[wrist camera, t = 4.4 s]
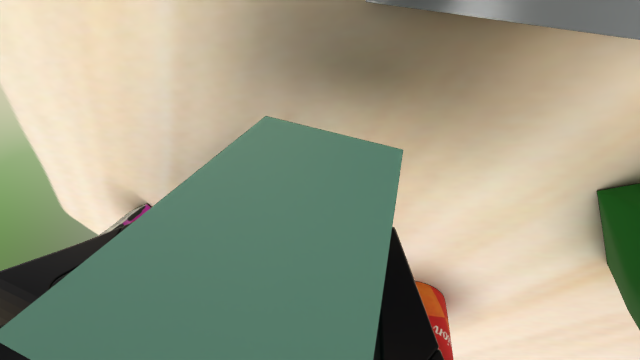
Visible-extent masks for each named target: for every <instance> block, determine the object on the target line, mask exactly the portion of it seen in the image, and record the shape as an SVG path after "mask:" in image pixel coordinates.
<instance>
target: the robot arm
mask: <svg viewBox="0 0 640 360" xmlns="http://www.w3.org/2000/svg"><path fill="white" fill-rule="evenodd" d="M132 223H133V222H132ZM132 223H129V224H127V225H124V226H123V227H119V228H117V229H115V230H112V231H110V232H107V233H105V234H102V235H100V236H97V237H95V238H92V239H90V240H87V241H85V242H82V243H79V244H76V245H74V246H71V247H68V248H65V249H63V250H60V251H57V252H54V253H51V254H49V255H46V256H43V257H40V258H37V259H34V260H31V261H28V262H25V263H22V264H20V265H17V266H14V267H11V268H8V269H5V270H2V271H0V329H1V328H2V327H3V326H4V325H6V324H7V323H8V322H9V321H11V320H12V319H13V318H14V317H16V316H17V315H18V314H19V313H21V312H22V311H23V310H24V309H26V308H27V307H28V306H29V305H31V304H32V303H33V302H34V301H36V300H37V299H38V298H39V297H41V296H42V295H43V294H44V293H46V292H47V291H48V290H49V289H51V288H52V287H53V286H54V285H56V284H57V283H58V282H59V281H61V280H62V279H63V278H64V277H65V276H67V275H68V274H69V273H70V272H72V271H73V270H74V269H75V268H77V267H78V266H79V265H80V264H82V263H83V262H84V261H85V260H87V259H88V258H89V257H90V256H92V255H93V254H94V253H95V252H97V251H98V250H99V249H100V248H102V247H103V246H104V245H105V244H107V243H108V242H109V241H110V240H112V239H113V238H114V237H115V236H117V235H118V234H119V233H120V232H122V231H123V230H124V229H125V228H127V227H128V226H129V225H130V224H132ZM438 348H439V345H438V342H437V339H436V337H435V334H434V331H433V329H432V326H431V323H430V321H429V318H428V315H427V313H426V310H425V307H424V304H423V302H422V299H421V296H420V294H419V291H418V288H417V286H416V283H415V280H414V278H413V275H412V272H411V270H410V267H409V264H408V262H407V259H406V256H405V253H404V251H403V248H402V245H401V243H400V240H399V237H398V235H397V232H396V230H395V228H394V227H392V232H391V239H390V246H389V253H388V260H387V267H386V274H385V281H384V288H383V295H382V302H381V309H380V316H379V323H378V330H377V337H376V344H375V351H374V358H373V360H444V358H443V355H442V352H441V350H439V349H438ZM437 349H438V350H437ZM0 360H30V359H28V358H27V357H25V356H23V355H21V354H19V353H18V352H16V351H14V350H12V349H11V348H9V347H7V346H5V345H3V344H2V343H0Z"/></svg>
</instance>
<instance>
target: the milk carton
mask: <svg viewBox="0 0 640 360" xmlns="http://www.w3.org/2000/svg"><path fill="white" fill-rule="evenodd" d="M597 195H598V202H599V208H600V215H601V222H602V229H603V236H604V243H605V250H606V257H607V264H608V266H609V269H610V271H611V273H612V275H613V277H614V279H615V282H616V284H617V286H618V288H619V291H620V293H621V295H622V298H623V300H624V302H625V304H626V307H627V309H628V311H629V312H630V314H631V316H632V318H633V320H634V321H635V323H636V325H637V326H638V328H639V330H640V183H639V184H633V185H628V186H622V187H617V188H611V189H606V190H600V191H597Z"/></svg>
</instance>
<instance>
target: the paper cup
mask: <svg viewBox="0 0 640 360" xmlns="http://www.w3.org/2000/svg"><path fill="white" fill-rule="evenodd" d="M415 283H416V286H417V288H418V291H419V294H420V296H421V299H422V302H423V304H424V307H425V310H426V313H427V315H428V318H429V321H430V323H431V326H432V329H433V331H434V334H435V337H436V339H437V342H438V345H439V348H438V349H439V350H441V352H442V355H443V358H444V360H453V353H452V346H451V338H450V331H449V323H448V316H447V310H446V304H445V299H444V296H443V295H442V294H441V292H440V291H438V290H437V289H436V288H434V287H432V286H430V285H428V284H425V283H421V282H415ZM438 349H437V350H438Z"/></svg>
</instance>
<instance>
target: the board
mask: <svg viewBox="0 0 640 360" xmlns="http://www.w3.org/2000/svg"><path fill="white" fill-rule="evenodd" d="M366 2H371V3H378V4H385V5H392V6H399V7H407V8H414V9H421V10H428V11H436V12H443V13H450V14H457V15H464V16H472V17H479V18H486V19H493V20H501V21H508V22H515V23H522V24H529V25H537V26H544V27H551V28H558V29H566V30H573V31H580V32H587V33H594V34H602V35H609V36H616V37H623V38H631V39H638V40H640V0H366Z"/></svg>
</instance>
